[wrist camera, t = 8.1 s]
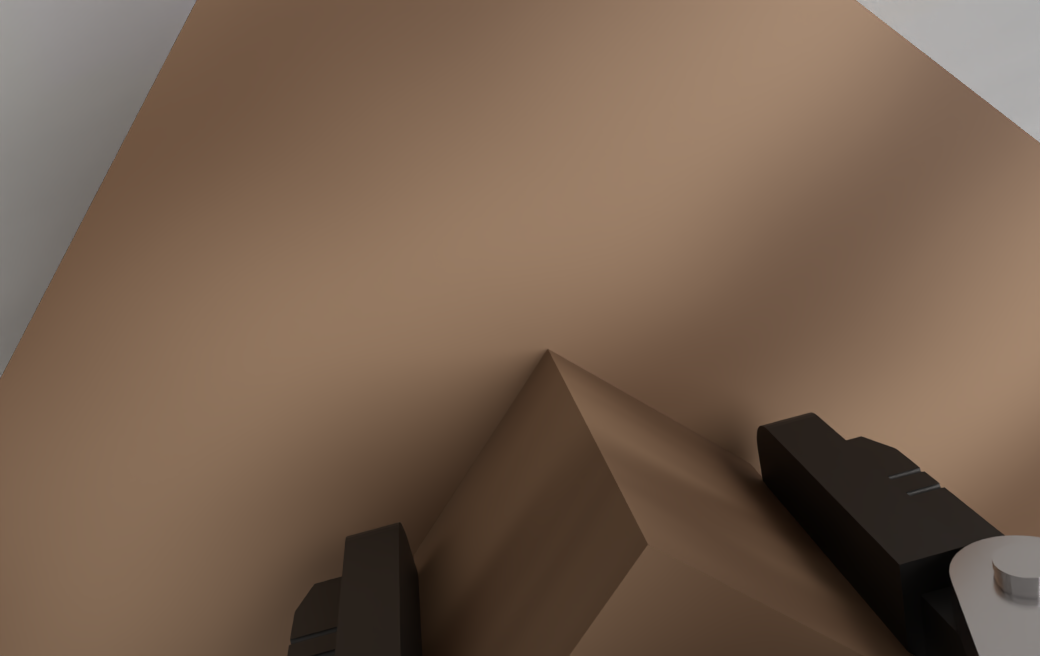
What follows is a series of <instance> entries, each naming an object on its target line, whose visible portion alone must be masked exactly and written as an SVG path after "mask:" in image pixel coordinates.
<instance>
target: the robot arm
mask: <svg viewBox="0 0 1040 656" xmlns="http://www.w3.org/2000/svg"><path fill="white" fill-rule="evenodd" d="M757 448H758V454H759V461H760V467H761V474H762V480H763V482H764V483H765V484H766V485H767V487H768V488H769V489H770V490H771V491H772V492H773V494H774V495H775V496H776V497H777V498H778V499H779V501H780V502H781V503H782V504H783V505H784V507H785V508H786V509H787V510H788V511H789V512H790V514H791V515H792V516H793V517H794V518H795V519H796V521H797V522H798V523H799V524H800V525H801V526H802V528H803V529H804V530H805V531H806V532H807V534H808V535H809V536H810V537H811V538H812V539H813V541H814V542H815V543H816V544H817V545H818V546H819V548H820V549H821V550H822V551H823V552H824V554H825V555H826V556H827V557H828V558H829V559H830V561H831V562H832V563H833V564H834V565H835V566H836V568H837V569H838V570H839V571H840V572H841V574H842V575H843V576H844V577H845V578H846V579H847V581H848V582H849V583H850V584H851V585H852V586H853V588H854V589H855V590H856V591H857V592H858V594H859V595H860V596H861V597H862V598H863V599H864V601H865V602H866V603H867V604H868V605H869V606H870V608H871V609H872V610H873V611H874V612H875V614H876V615H877V616H878V617H879V618H880V619H881V621H882V622H883V623H884V624H885V625H886V626H887V628H888V629H889V630H890V631H891V632H892V633H893V635H894V636H895V637H896V638H897V639H898V641H899V642H900V643H901V644H902V645H903V646H904V648H905V649H906V650H907V651H908V652H909V653H911V654H913V655H915V656H1040V537H1033V536H1021V535H1009V536H1005V535H1004V534H1002V533H1001V532H1000V531H999V530H997V529H996V528H995V527H994V526H992V525H991V524H990V523H989V522H987V521H986V520H985V519H984V518H982V517H981V516H980V515H979V514H977V513H976V512H975V511H974V510H972V509H971V508H970V507H969V506H967V505H966V504H965V503H964V502H962V501H961V500H960V499H959V498H957V497H956V496H955V495H954V494H952V493H951V492H950V491H949V490H947V489H946V488H945V487H943V488H941V486H940V483H939V482H937V481H936V480H935V479H934V478H932V477H931V476H930V475H929V474H927V473H926V472H925V471H923V472H921V470H920V467H919V466H917V465H916V464H915V463H914V462H912V461H911V460H910V459H909V458H907V457H906V456H905V455H904V454H902V453H901V452H900V451H899V450H897V449H896V448H893V447H891V446H888V445H885V444H882V443H879V442H876V441H874V440H871V439H868V438H865V437H862V436H860V437H856V438H853V439H849V440H845V439H844V438H843V437H842V436H841V435H839V434H838V433H837V432H836V431H835V430H834V429H833V428H831V427H830V426H829V425H828V424H827V423H826V422H824V421H823V420H822V419H821V418H820V417H819V416H818V415H816V414H815V413H812V412H810V413H806V414H802V415H799V416H795V417H791V418H788V419H784V420H780V421H776V422H773V423H769V424H765V425H761V426H759V427H758V429H757ZM290 642H291V645H289V648H288V654H287V656H422V638H421V619H420V599H419V580H418V572H417V568H416V565H415V562H414V558H413V555H412V552H411V549H410V545H409V542H408V539H407V536H406V533H405V530H404V528H403V526H402V524H401V522H398V523H394V524H391V525H387V526H383V527H379V528H376V529H372V530H368V531H365V532H361V533H357V534H353V535H350V536H347V537H346V540H345V549H344V560H343V571H342V576H341V577H338V578H334V579H330V580H327V581H323V582H319V583H316V584H314V585H313V587H312V588H311V589H310V591H309V592H308V594H307V595H306V596H305V598H304V599H303V601H302V602H301V604H300V605H299V606H298V608H297V609H296V611H295V613H294V619H293V624H292V630H291V636H290Z"/></svg>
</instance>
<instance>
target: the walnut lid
mask: <svg viewBox="0 0 1040 656" xmlns="http://www.w3.org/2000/svg"><path fill="white" fill-rule="evenodd" d="M810 412H812V413H815V414H816V415H818V416H819V417H820V418H821V419H822V420H823V421H824V422H826V423H827V424H828V425H829V426H830V427H831V428H833V429H834V430H835V431H836V432H837V433H838V434H839V435H841V436H842V437H843V438H844V439H845V440H849V439H853V438H856V437H860V436H862V437H865V438H868V439H871V440H874V441H876V442H879V443H882V444H885V445H888V446H891V447H893V448H896V449H897V450H899V451H900V452H901V453H902V454H904V455H905V456H906V457H907V458H909V459H910V460H911V461H912V462H914V463H915V464H916V465H917V466H919V467H920V470H921V472H923V471H925V472H926V473H927V474H929V475H930V476H931V477H932V478H934V479H935V480H936V481H937V482H939V483H940V486H941V488H943V487H945V488H946V489H947V490H949V491H950V492H951V493H952V494H954V495H955V496H956V497H957V498H959V499H960V500H961V501H962V502H964V503H965V504H966V505H967V506H969V507H970V508H971V509H972V510H974V511H975V512H976V513H977V514H979V515H980V516H981V517H982V518H984V519H985V520H986V521H987V522H989V523H990V524H991V525H992V526H994V527H995V528H996V529H997V530H999V531H1000V532H1001V533H1002V534H1004V535H1005V536H1009V535H1021V536H1033V537H1040V143H1039V142H1038V141H1037V140H1036V139H1034V138H1033V137H1032V136H1030V135H1029V134H1028V133H1026V132H1025V131H1024V130H1023V129H1021V128H1020V127H1019V126H1017V125H1016V124H1015V123H1014V122H1012V121H1011V120H1010V119H1008V118H1007V117H1006V116H1005V115H1003V114H1002V113H1001V112H999V111H998V110H997V109H995V108H994V107H993V106H992V105H990V104H989V103H988V102H986V101H985V100H984V99H983V98H981V97H980V96H979V95H977V94H976V93H975V92H974V91H972V90H971V89H970V88H968V87H967V86H966V85H965V84H963V83H962V82H961V81H959V80H958V79H957V78H955V77H954V76H953V75H952V74H950V73H949V72H948V71H946V70H945V69H944V68H943V67H941V66H940V65H939V64H937V63H936V62H935V61H934V60H932V59H931V58H930V57H928V56H927V55H926V54H924V53H923V52H922V51H921V50H919V49H918V48H917V47H915V46H914V45H913V44H912V43H910V42H909V41H908V40H906V39H905V38H904V37H903V36H901V35H900V34H899V33H897V32H896V31H895V30H893V29H892V28H891V27H890V26H888V25H887V24H886V23H884V22H883V21H882V20H881V19H879V18H878V17H877V16H875V15H874V14H873V13H872V12H870V11H869V10H868V9H866V8H865V7H864V6H862V5H861V4H860V3H859V2H857V1H856V0H197V1H196V3H195V5H194V7H193V8H192V10H191V12H190V14H189V16H188V18H187V20H186V22H185V24H184V26H183V28H182V30H181V32H180V34H179V35H178V37H177V39H176V41H175V43H174V45H173V47H172V49H171V51H170V53H169V55H168V57H167V59H166V61H165V62H164V64H163V66H162V68H161V70H160V72H159V74H158V76H157V78H156V80H155V82H154V84H153V86H152V87H151V89H150V91H149V93H148V95H147V97H146V99H145V101H144V103H143V105H142V107H141V109H140V111H139V113H138V114H137V116H136V118H135V120H134V122H133V124H132V126H131V128H130V130H129V132H128V134H127V136H126V138H125V140H124V141H123V143H122V145H121V147H120V149H119V151H118V153H117V155H116V157H115V159H114V161H113V163H112V165H111V166H110V168H109V170H108V172H107V174H106V176H105V178H104V180H103V182H102V184H101V186H100V188H99V190H98V192H97V193H96V195H95V197H94V199H93V201H92V203H91V205H90V207H89V209H88V211H87V213H86V215H85V217H84V219H83V220H82V222H81V224H80V226H79V228H78V230H77V232H76V234H75V236H74V238H73V240H72V242H71V244H70V245H69V247H68V249H67V251H66V253H65V255H64V257H63V259H62V261H61V263H60V265H59V267H58V269H57V271H56V272H55V274H54V276H53V278H52V280H51V282H50V284H49V286H48V288H47V290H46V292H45V294H44V296H43V298H42V299H41V301H40V303H39V305H38V307H37V309H36V311H35V313H34V315H33V317H32V319H31V321H30V323H29V324H28V326H27V328H26V330H25V332H24V334H23V336H22V338H21V340H20V342H19V344H18V346H17V348H16V350H15V351H14V353H13V355H12V357H11V359H10V361H9V363H8V365H7V367H6V369H5V371H4V373H3V375H2V377H1V378H0V656H287V654H288V648H289V645H291V642H290V636H291V630H292V624H293V619H294V613H295V611H296V609H297V608H298V606H299V605H300V604H301V602H302V601H303V599H304V598H305V596H306V595H307V594H308V592H309V591H310V589H311V588H312V587H313V585H314V584H316V583H319V582H323V581H327V580H330V579H334V578H338V577H341V576H342V571H343V560H344V549H345V540H346V537H347V536H350V535H353V534H357V533H361V532H365V531H368V530H372V529H376V528H379V527H383V526H387V525H391V524H394V523H398V522H401V524H402V526H403V528H404V530H405V533H406V536H407V539H408V542H409V545H410V549H411V552H412V555H413V558H414V562H415V565H416V568H417V572H418V580H419V599H420V619H421V638H422V656H915V655H913V654H911V653H909V652H908V651H907V650H906V649H905V648H904V646H903V645H902V644H901V643H900V642H899V641H898V639H897V638H896V637H895V636H894V635H893V633H892V632H891V631H890V630H889V629H888V628H887V626H886V625H885V624H884V623H883V622H882V621H881V619H880V618H879V617H878V616H877V615H876V614H875V612H874V611H873V610H872V609H871V608H870V606H869V605H868V604H867V603H866V602H865V601H864V599H863V598H862V597H861V596H860V595H859V594H858V592H857V591H856V590H855V589H854V588H853V586H852V585H851V584H850V583H849V582H848V581H847V579H846V578H845V577H844V576H843V575H842V574H841V572H840V571H839V570H838V569H837V568H836V566H835V565H834V564H833V563H832V562H831V561H830V559H829V558H828V557H827V556H826V555H825V554H824V552H823V551H822V550H821V549H820V548H819V546H818V545H817V544H816V543H815V542H814V541H813V539H812V538H811V537H810V536H809V535H808V534H807V532H806V531H805V530H804V529H803V528H802V526H801V525H800V524H799V523H798V522H797V521H796V519H795V518H794V517H793V516H792V515H791V514H790V512H789V511H788V510H787V509H786V508H785V507H784V505H783V504H782V503H781V502H780V501H779V499H778V498H777V497H776V496H775V495H774V494H773V492H772V491H771V490H770V489H769V488H768V487H767V485H766V484H765V483H764V482H763V480H762V474H761V467H760V461H759V454H758V448H757V429H758V427H759V426H761V425H765V424H769V423H773V422H776V421H780V420H784V419H788V418H791V417H795V416H799V415H802V414H806V413H810Z"/></svg>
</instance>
